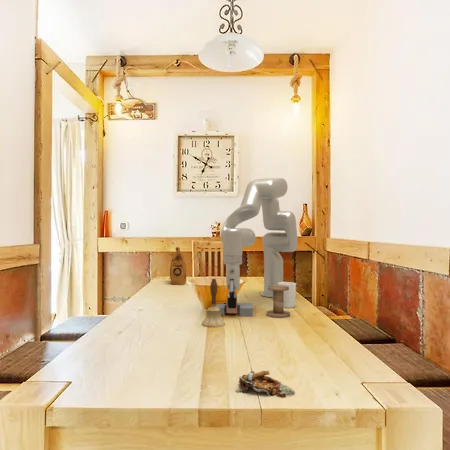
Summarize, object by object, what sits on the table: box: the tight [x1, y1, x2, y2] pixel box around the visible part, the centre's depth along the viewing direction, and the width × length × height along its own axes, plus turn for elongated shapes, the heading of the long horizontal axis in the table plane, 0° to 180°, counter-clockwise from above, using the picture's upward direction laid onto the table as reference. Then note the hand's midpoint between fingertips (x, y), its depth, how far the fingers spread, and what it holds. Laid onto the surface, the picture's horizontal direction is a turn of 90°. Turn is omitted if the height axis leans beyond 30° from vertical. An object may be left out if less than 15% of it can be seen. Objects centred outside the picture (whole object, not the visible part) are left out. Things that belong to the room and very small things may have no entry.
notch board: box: [216, 302, 254, 317], centre depth 153 cm, size 16×10×3 cm, turn 87°
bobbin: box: [266, 285, 291, 319], centre depth 150 cm, size 9×9×11 cm
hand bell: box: [201, 278, 226, 328], centre depth 135 cm, size 8×8×16 cm
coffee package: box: [169, 246, 187, 286], centre depth 232 cm, size 10×12×22 cm
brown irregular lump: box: [234, 370, 295, 398], centre depth 81 cm, size 7×12×4 cm, turn 75°
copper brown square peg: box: [226, 295, 238, 314], centre depth 151 cm, size 4×4×7 cm
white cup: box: [278, 281, 297, 309], centre depth 167 cm, size 8×8×10 cm
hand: (232, 306), depth 151 cm, fingers open, 4 cm apart
